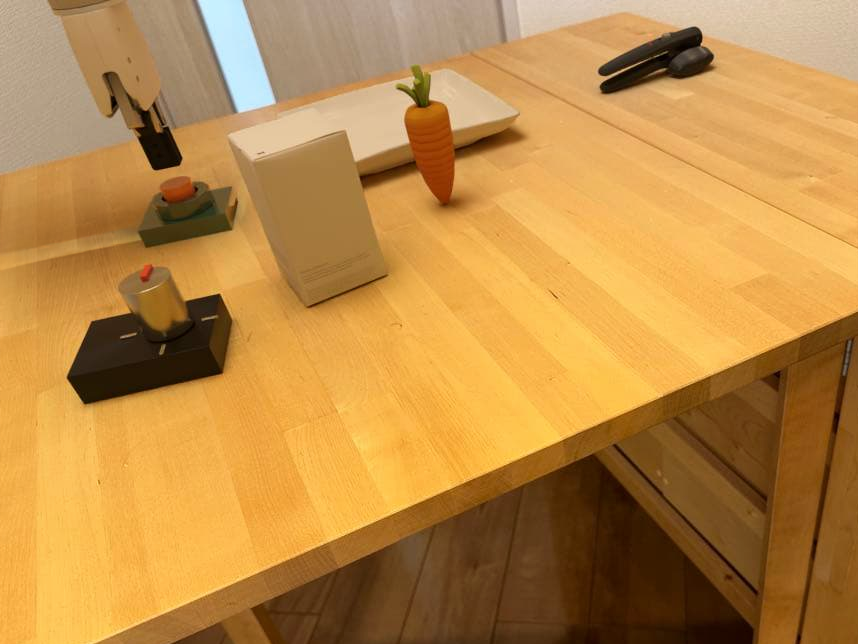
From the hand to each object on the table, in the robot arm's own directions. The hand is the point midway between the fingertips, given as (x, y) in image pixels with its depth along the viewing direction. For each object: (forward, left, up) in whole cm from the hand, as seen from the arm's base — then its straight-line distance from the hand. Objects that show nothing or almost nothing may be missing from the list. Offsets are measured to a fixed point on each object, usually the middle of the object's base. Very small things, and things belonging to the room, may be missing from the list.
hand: (168, 165), depth 87 cm
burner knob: (+3, -29, -4) cm, 29 cm away
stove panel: (+1, -29, -7) cm, 30 cm away
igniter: (0, 0, -7) cm, 7 cm away
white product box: (+17, -20, -8) cm, 27 cm away
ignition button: (0, 0, -4) cm, 4 cm away
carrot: (+30, -9, -8) cm, 32 cm away
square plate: (+26, +15, -8) cm, 31 cm away
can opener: (+64, +18, -8) cm, 67 cm away
